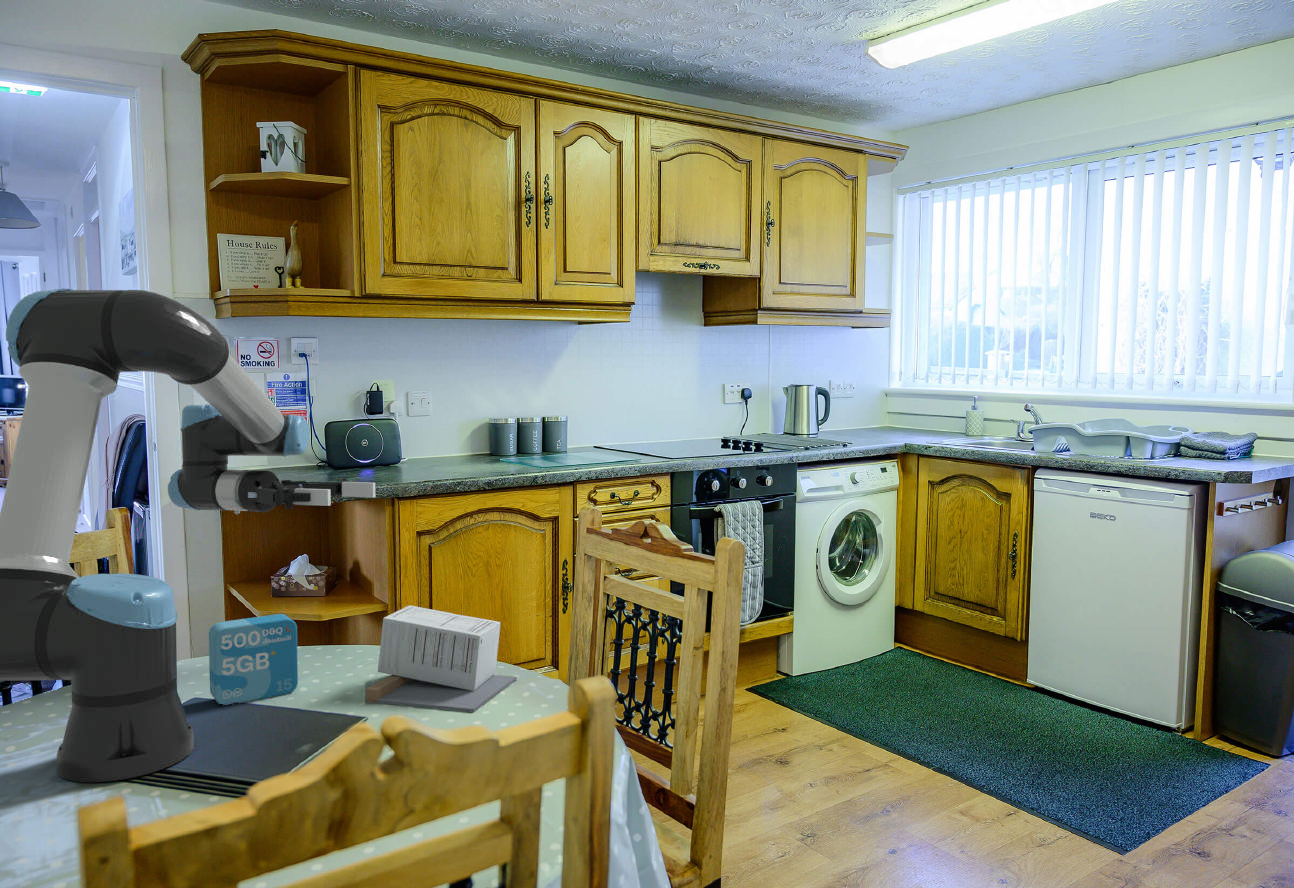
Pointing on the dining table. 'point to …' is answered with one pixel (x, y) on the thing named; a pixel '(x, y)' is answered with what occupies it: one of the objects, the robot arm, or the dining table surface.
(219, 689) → the data package
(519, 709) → the dining table surface
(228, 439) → the robot arm
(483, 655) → the supplement box
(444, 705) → the topple mat
